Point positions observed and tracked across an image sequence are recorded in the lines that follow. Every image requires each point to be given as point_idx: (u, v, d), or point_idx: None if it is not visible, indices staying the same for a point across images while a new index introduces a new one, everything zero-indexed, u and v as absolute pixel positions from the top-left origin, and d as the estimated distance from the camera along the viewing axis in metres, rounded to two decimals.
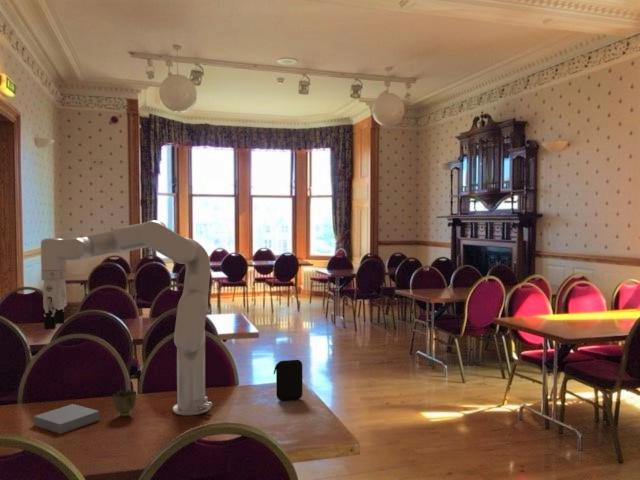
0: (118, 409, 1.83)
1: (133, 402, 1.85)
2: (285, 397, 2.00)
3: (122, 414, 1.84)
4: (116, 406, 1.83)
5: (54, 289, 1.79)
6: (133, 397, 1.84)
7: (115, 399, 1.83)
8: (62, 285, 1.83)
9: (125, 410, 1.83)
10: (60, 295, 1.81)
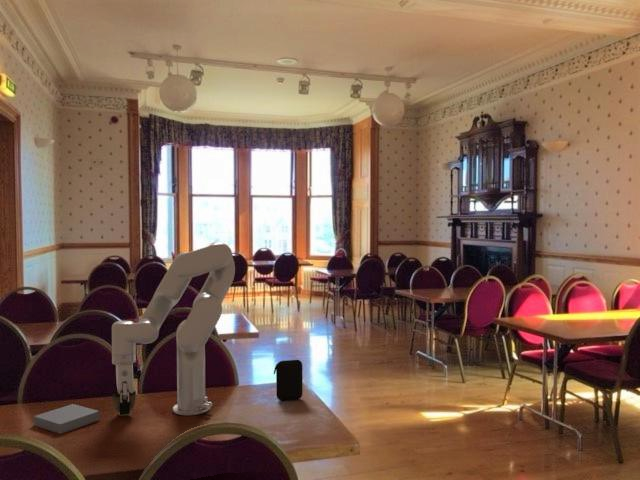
0: (118, 409, 1.83)
1: (133, 402, 1.85)
2: (285, 397, 2.00)
3: None
4: (116, 406, 1.83)
5: (129, 373, 1.81)
6: (133, 397, 1.84)
7: (115, 399, 1.82)
8: None
9: None
10: None
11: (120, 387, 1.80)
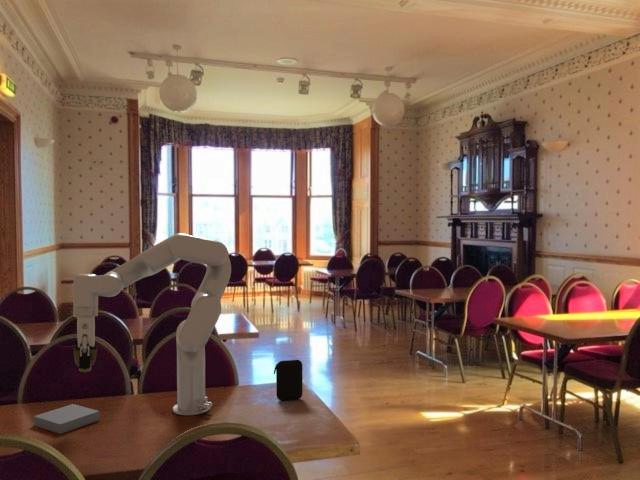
0: (78, 363, 1.78)
1: (94, 357, 1.80)
2: (285, 397, 2.00)
3: (82, 369, 1.79)
4: (76, 360, 1.78)
5: (90, 326, 1.77)
6: (94, 352, 1.80)
7: (75, 353, 1.78)
8: (94, 321, 1.81)
9: None
10: (94, 332, 1.79)
11: (80, 340, 1.76)
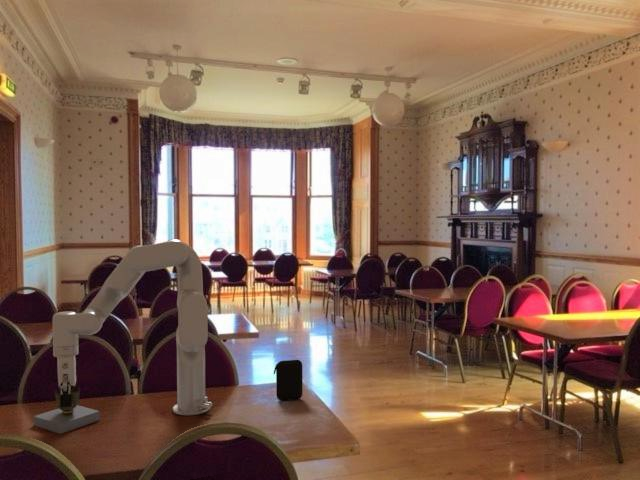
0: (60, 407, 1.76)
1: (76, 400, 1.78)
2: (285, 397, 2.00)
3: (64, 412, 1.77)
4: (58, 404, 1.76)
5: (70, 366, 1.75)
6: (76, 394, 1.78)
7: (56, 396, 1.76)
8: (75, 360, 1.79)
9: (67, 408, 1.76)
10: (75, 371, 1.77)
11: (60, 380, 1.74)
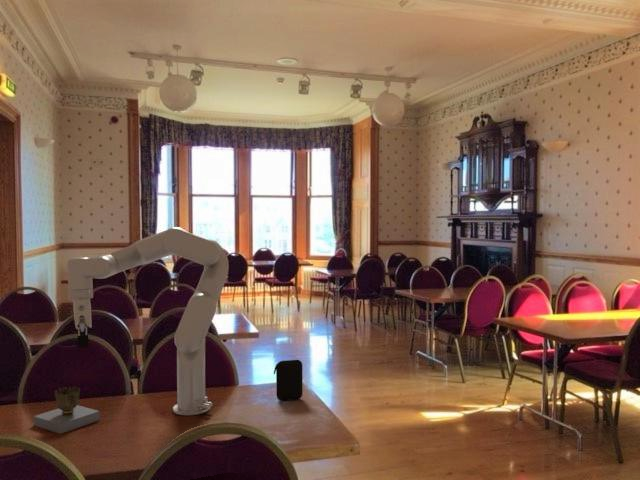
0: (60, 407, 1.76)
1: (76, 400, 1.78)
2: (285, 397, 2.00)
3: (64, 412, 1.77)
4: (58, 404, 1.76)
5: (86, 308, 1.81)
6: (76, 394, 1.78)
7: (56, 396, 1.76)
8: (90, 303, 1.85)
9: (67, 408, 1.76)
10: (90, 313, 1.83)
11: (77, 321, 1.80)
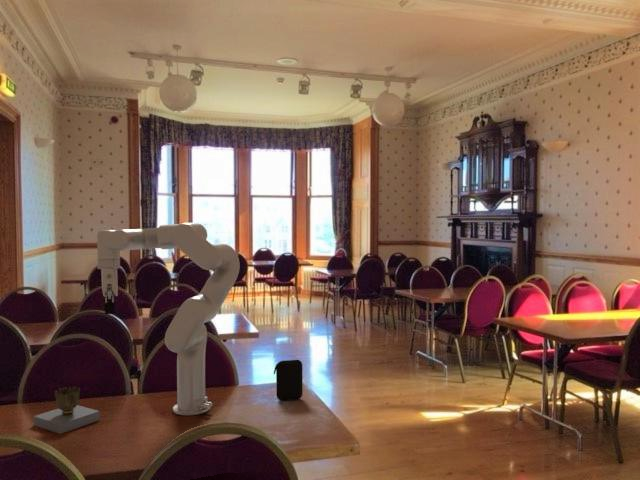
0: (60, 407, 1.76)
1: (76, 400, 1.78)
2: (285, 397, 2.00)
3: (64, 412, 1.77)
4: (58, 404, 1.76)
5: (113, 277, 1.93)
6: (76, 394, 1.78)
7: (56, 396, 1.76)
8: None
9: (67, 408, 1.76)
10: (117, 282, 1.96)
11: (105, 289, 1.92)
